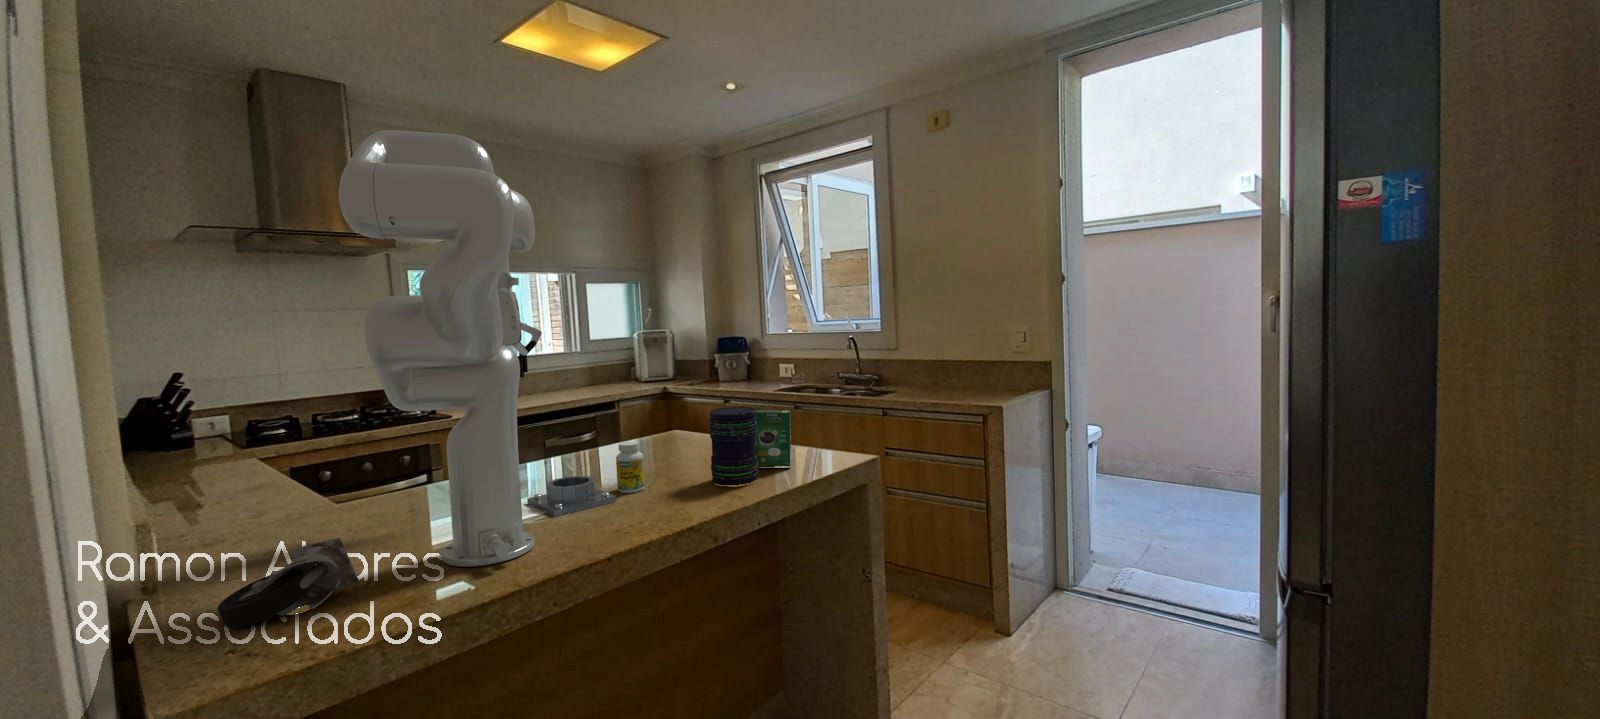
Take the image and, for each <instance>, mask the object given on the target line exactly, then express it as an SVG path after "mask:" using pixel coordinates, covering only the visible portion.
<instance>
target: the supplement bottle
mask: <svg viewBox="0 0 1600 719" xmlns="http://www.w3.org/2000/svg"><path fill="white" fill-rule="evenodd" d="M618 450H619V452H620V453H618V454H617V455H616V457H615V461H616V462H615V463H616V466H615V467H616V482H617V483H616V485H617V490H618V492H619V493H622V494H635V493H638V491H639V492H642V491H643V489H644V490H645V489H646V483H645V482H646V481H645V480H646V479H645V463H644V460H645V459H644V454H643V453H642V452H641V451H639V450H640V442H639V441H624V442H620V443H618ZM641 490H642V491H641ZM634 492H635V493H634Z"/></svg>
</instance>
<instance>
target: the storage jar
mask: <svg viewBox="0 0 1600 719" xmlns="http://www.w3.org/2000/svg"><path fill="white" fill-rule="evenodd" d="M756 411H757V409H756V408H753V407H746V406H744V407H743V406H732V407H720V408H714V409H711V410H709V417H710V418H709V436H710V437H709V438H710V439H711V457H710V462H711V464H710V470H711V471H710V472H711V476H712V478H711V483H712V482H713V483H715V484H719V485H739V484H746V483H751V482H753V481H755V480H757V479H758V480H759V476H758V473H759V469H758V462H757V461H758V456H757V454H756V436H757V429H756V428H757V422H756Z"/></svg>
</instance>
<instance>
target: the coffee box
mask: <svg viewBox="0 0 1600 719" xmlns="http://www.w3.org/2000/svg"><path fill="white" fill-rule="evenodd" d="M791 412H792V410H764V409H762V410H760V409H759V410H757V409H756V414H755V416H756V422H757V428H756V429H757V436H756V454H757V456H758V461H757V462H758V467H774V466H790V465H791V466H792V446H791V445H792V444H791V443H792V435H791V434H792V432H791V431H792V428H791V427H792V414H791Z"/></svg>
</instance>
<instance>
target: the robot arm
mask: <svg viewBox="0 0 1600 719" xmlns="http://www.w3.org/2000/svg"><path fill="white" fill-rule="evenodd" d="M494 170H495V169H494V165H493V163H492V159H491V157H490V155H489V153H488V151H487V150H486V149H485V148H484V147H483V146H482V145H481V144H480V143H479V142H477V141H476V140H473V139H472V138H469V137H468V136H463V135H459V134H454V133H453V134H452V133H444V132H430V131H429V132H428V131H416V130H415V131H414V130H413V131H412V130H397V129H385V130H384V129H383V130H379V131H376V132H374V133H372V134H370V135H369V136H367V137H366V138H365V139H364V140H363V141H362V142H361V143H360V145H359V146H358V148H357V149H356V150H355V152H354V154H353V155H352V157H351V158H349V161H348V162H347V164H346V166H345V167H344V169H343V171H342V174H341V176H340V180H339V186H338V202H339V207H340V208H339V209H340V211H341V214H342V216H343V218H344V221H345V222H346V223H347V224H348V226H349V227H350V229H352V231H354V232H356V233H357V234H359V235H361V236H363V237H367V238H371V239H380V240H381V239H382V240H384V239H385V240H428V241H430V240H433V241H434V240H438V241H439V240H440V241H441V240H442V241H444V242H445V243H446V245H447V247H448V248H446V249H445V250H443V251H442V252H441V253H440V254H439V255H438V256H437V257H435V258H434V259H433V261H432V262H431V263H430V264H429V265H428V266H427V268H426V269H425V270H424V272H423V273H422V275H421V277H420V280H419V291H420V294H419V295H418V294H417V295H415V294H413V295H411V294H409V295H393V296H386V297H383V298H379V299H378V300H376V301H375V302H373V304H371V305H370V307H369V308H368V310H367V312H366V315H365V318H364V324H363V326H364V341H365V346H366V351H367V352H368V356H369V359H370V361H371V363H372V366H373V368H374V371H375V374H377V377H378V380H379V382H380V384H381V386H382V389H383V391H384V393H385V395H386V397H387V400H388V401H389V403H390V404H391V405H392V406H393V407H394V408H396V409H398V410H400V411H404V412H420V411H421V412H424V411H425V412H426V411H439V410H451V409H452V410H464V411H465V412H464V414H463V415H462V417H461V418H460V419H459V420H458V421H457V423H455V424H454V426H453V427H452V429H451V430H450V432H449V433H448V436H447V440H446V456H447V470H448V474H447V475H448V487H449V489H448V490H449V499H450V501H449V504H450V514H451V515H450V516H451V529H452V542H451V543H449V544H448V545H446V546H445V547H444V548H443V549H442V551H441V560H442V562H444V563H445V564H447V565H450V566H451V567H452V566H453V567H465V568H467V567H469V568H470V567H481V566H488V565H489V566H490V565H492V564H494V565H495V564H498V563H502V562H507V561H509V560H513V559H515V558H518V557H520V556H522V555H524V554H526V553H528V552H529V551H530V550H531V549H533V547H534V546H535V536H534V535H533V534H532V533H530V532H529V531H525V530H524V528H523V512H522V511H523V510H522V509H523V508H522V492H521V491H522V490H521V477H520V460H519V441H518V397H519V387H520V379H521V378H524V377H525V373H528V372H529V368H528V354H529V353H530V352H531V351H532V350H533V349H534V348H535V347H536V346H537V344H538V342H539V340H540V338H541V336H542V333H543V332H542V331H541V330H540V329H537V328H536V327H533V326H530V325H528V324H525V323H523V322H521V315H520V308H519V307H520V305H519V301H518V296H517V293H516V292H515V291H511V289H512V287H514V286H519V285H520V284H519V283H520V282H519V277H515V276H512V275H511V274H510V260H509V257H510V256H509V254H510V253H512V254H515V253H516V254H520V253H525V252H528V251H530V250H531V249H532V248H533V246H534V243H535V239H536V226H535V218H534V217H535V216H534V212H533V210H532V207H531V205H530V202H529V201H528V199H527V198H526V197H525V196H524V195H522V194H521V193H519V192H517V191H515V190H513V189H512V188H510V187H509V186H508V183H507V182H506V181H505V180H504V179H502V178H501V177H500V176H498V175H496V173H495V171H494ZM522 332H526V333H528V334H529V335H531V339H530V341H529V342H528V343H527V344H526V345H524V344H523V343H522V336H523V334H522ZM511 346H512V347H513V348H514V349H515V350H516V351H517V353H518V354H516V352H515V351H514V350H513V349H512V348H511Z"/></svg>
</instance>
